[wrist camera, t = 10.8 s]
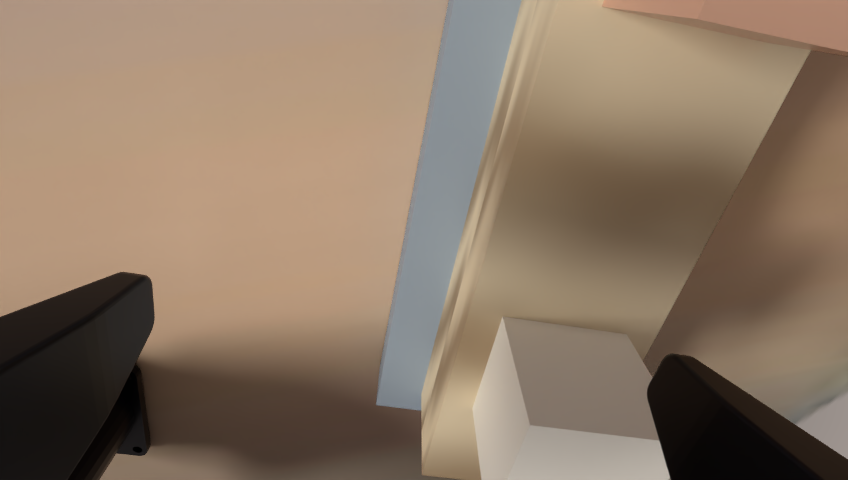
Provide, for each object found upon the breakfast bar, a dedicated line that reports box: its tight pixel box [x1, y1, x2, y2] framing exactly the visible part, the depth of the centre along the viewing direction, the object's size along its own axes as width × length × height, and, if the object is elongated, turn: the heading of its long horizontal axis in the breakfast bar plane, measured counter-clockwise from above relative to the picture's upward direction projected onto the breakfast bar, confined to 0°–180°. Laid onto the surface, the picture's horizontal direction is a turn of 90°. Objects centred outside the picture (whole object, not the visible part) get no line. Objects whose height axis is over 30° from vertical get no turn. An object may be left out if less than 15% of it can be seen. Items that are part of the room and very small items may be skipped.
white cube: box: [472, 317, 670, 480], centre depth 14 cm, size 4×4×4 cm
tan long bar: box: [421, 0, 811, 480], centre depth 14 cm, size 24×6×4 cm, turn 169°
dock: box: [376, 0, 521, 410], centre depth 17 cm, size 26×10×2 cm, turn 169°
